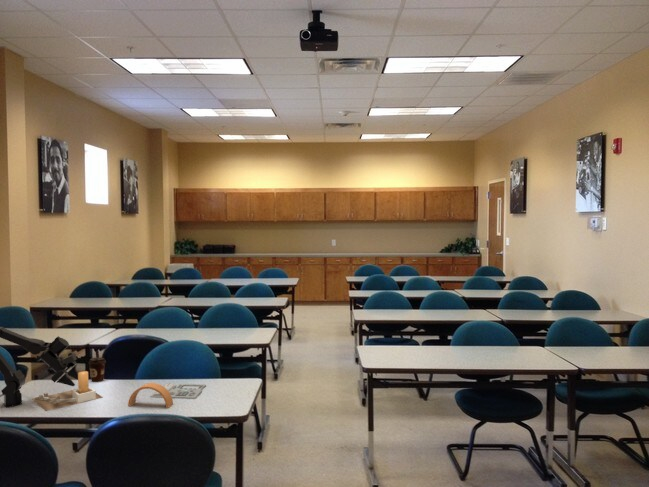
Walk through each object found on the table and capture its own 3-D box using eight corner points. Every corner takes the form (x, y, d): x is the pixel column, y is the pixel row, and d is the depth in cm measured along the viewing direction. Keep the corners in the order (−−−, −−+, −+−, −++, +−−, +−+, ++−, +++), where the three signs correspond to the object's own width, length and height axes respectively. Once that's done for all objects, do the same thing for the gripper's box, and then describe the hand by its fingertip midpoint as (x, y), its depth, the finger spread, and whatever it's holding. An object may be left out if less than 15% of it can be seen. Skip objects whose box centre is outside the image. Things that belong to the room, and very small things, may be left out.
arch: (134, 402, 251) (133, 382, 251) (173, 404, 249) (172, 383, 248) (127, 406, 246) (127, 385, 245) (167, 408, 243) (167, 387, 242)
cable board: (45, 413, 237) (45, 405, 237) (31, 401, 253) (31, 394, 252) (103, 399, 255) (103, 392, 255) (87, 388, 271) (86, 382, 270)
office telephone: (149, 393, 258) (165, 381, 278) (149, 399, 258) (166, 385, 278) (194, 394, 255) (208, 381, 275) (195, 400, 255) (208, 386, 275)
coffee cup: (93, 385, 276) (93, 361, 275) (85, 382, 281) (85, 359, 280) (109, 381, 283) (108, 358, 282) (100, 378, 288) (100, 355, 287)
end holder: (78, 403, 247) (78, 394, 247) (72, 398, 253) (72, 390, 253) (95, 398, 253) (95, 390, 252) (89, 394, 259) (89, 387, 258)
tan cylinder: (78, 399, 250) (77, 374, 249) (79, 396, 254) (78, 371, 253) (88, 398, 251) (87, 373, 251) (89, 395, 256) (88, 370, 255)
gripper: (58, 353, 241) (83, 376, 243) (72, 344, 260) (95, 365, 262) (40, 371, 241) (66, 393, 243) (55, 360, 259) (79, 381, 261)
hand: (77, 382), depth 252 cm, fingers open, 9 cm apart
